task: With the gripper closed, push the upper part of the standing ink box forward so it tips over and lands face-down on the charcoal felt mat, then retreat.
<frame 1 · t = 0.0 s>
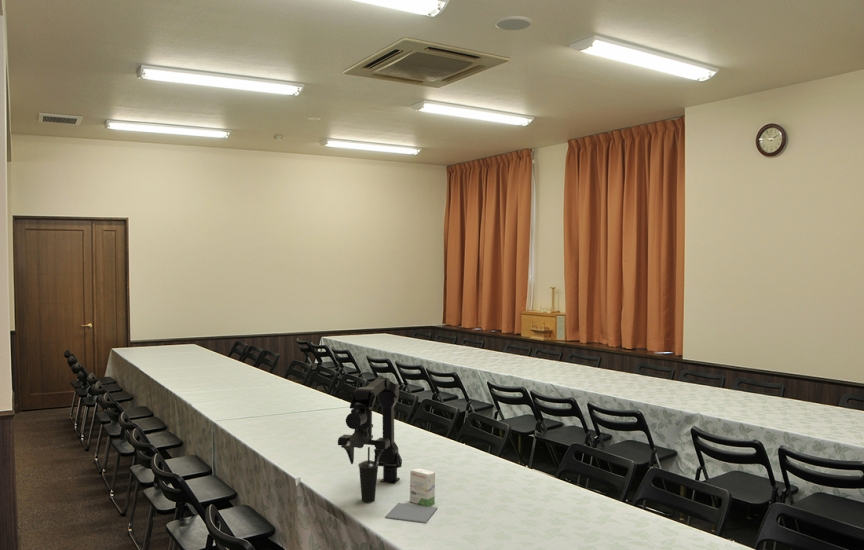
hand: (363, 465, 234), 15 cm above the table, fingers open, 9 cm apart
felt mat: (411, 513, 226), on the table
drinking cup: (368, 501, 239), on the table
ink box: (422, 503, 237), on the table
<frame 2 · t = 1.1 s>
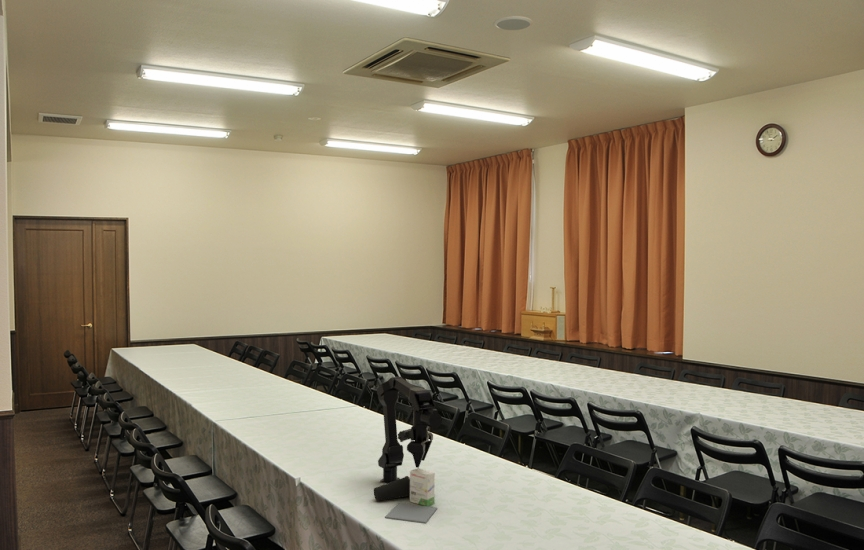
hand: (420, 463, 242), 13 cm above the table, fingers open, 9 cm apart
drinking cup: (375, 494, 238), point 2 cm above the table
everything else where it was.
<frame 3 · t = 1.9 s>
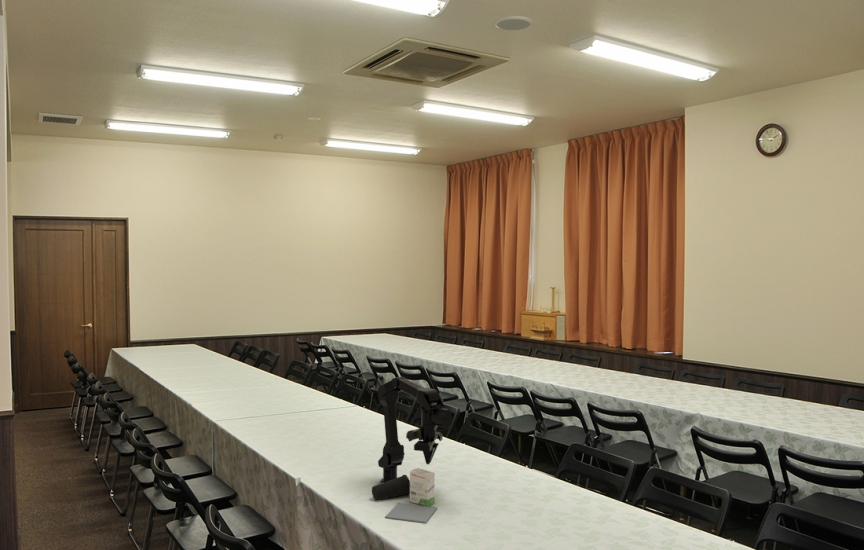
hand: (428, 463, 244), 12 cm above the table, fingers closed
drinking cup: (373, 492, 240), point 3 cm above the table
everything else where it was.
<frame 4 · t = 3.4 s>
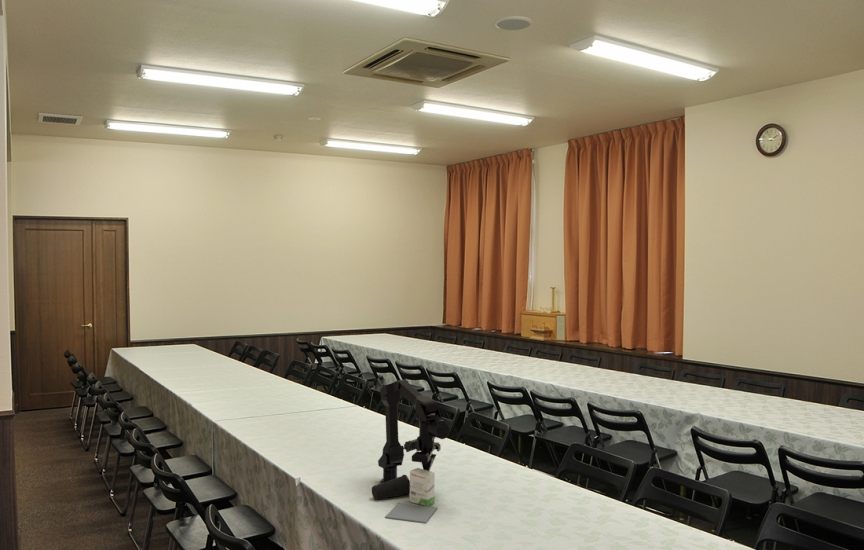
hand: (426, 474, 241), 9 cm above the table, fingers closed
ink box: (422, 503, 237), on the table, touching gripper
everything else where it was.
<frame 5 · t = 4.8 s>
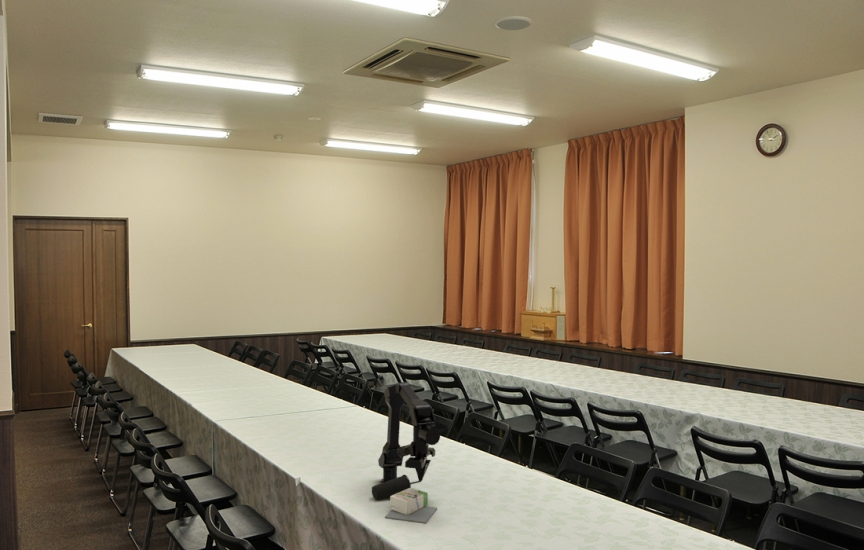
hand: (420, 480, 234), 9 cm above the table, fingers closed
ink box: (419, 496, 235), point 3 cm above the table, touching felt mat
everything else where it was.
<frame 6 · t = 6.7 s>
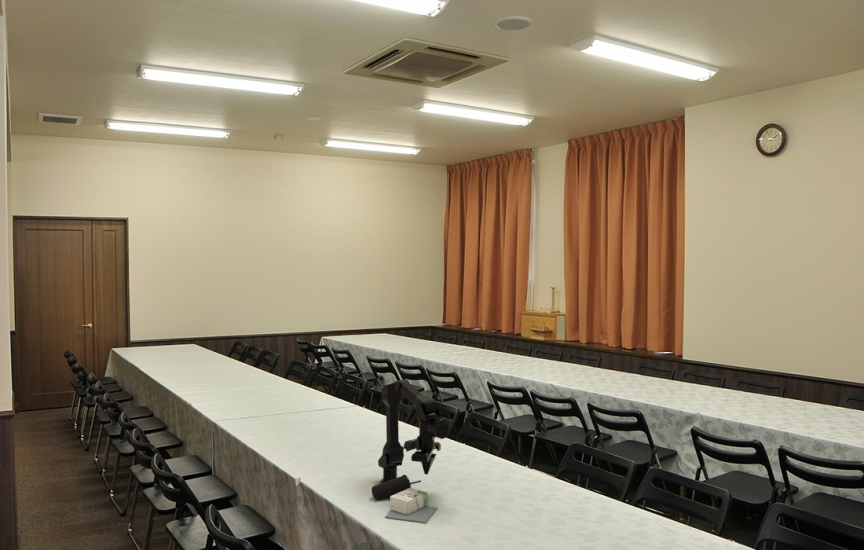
hand: (426, 474, 240), 10 cm above the table, fingers closed
nothing on the table moved.
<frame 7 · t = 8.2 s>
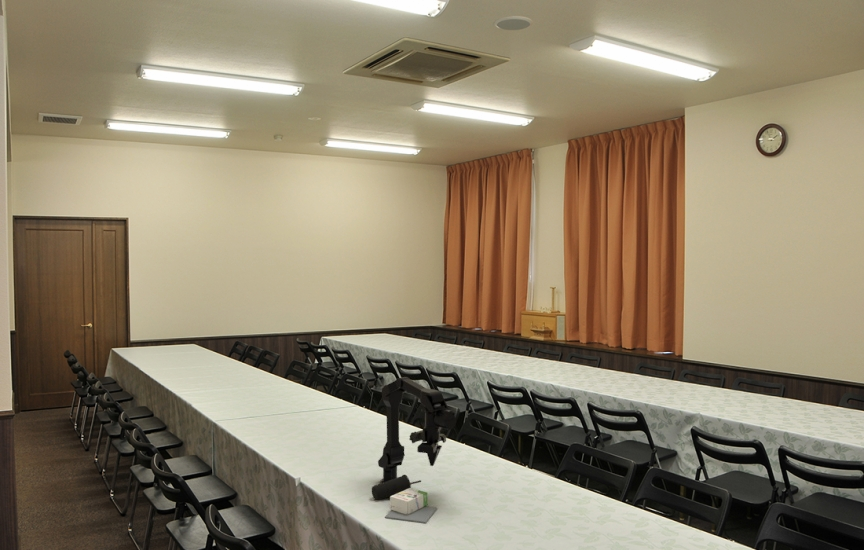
hand: (432, 465, 241), 12 cm above the table, fingers closed
nothing on the table moved.
at the end: ink box tilted 90°; ink box inside the target area (7.8 cm from its centre), point 3.0 cm above the table; the gripper is holding nothing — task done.
